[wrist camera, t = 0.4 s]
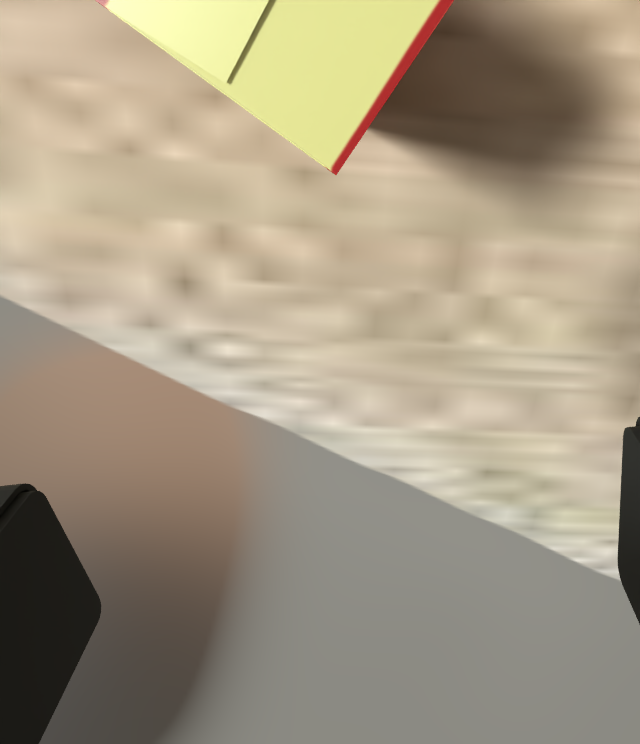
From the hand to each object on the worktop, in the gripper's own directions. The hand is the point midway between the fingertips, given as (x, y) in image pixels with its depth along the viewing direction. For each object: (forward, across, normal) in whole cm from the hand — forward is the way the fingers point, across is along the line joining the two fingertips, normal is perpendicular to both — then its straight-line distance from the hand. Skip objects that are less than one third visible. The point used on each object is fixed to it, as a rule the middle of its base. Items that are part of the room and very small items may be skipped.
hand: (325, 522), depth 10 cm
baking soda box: (+31, +1, -8) cm, 32 cm away
